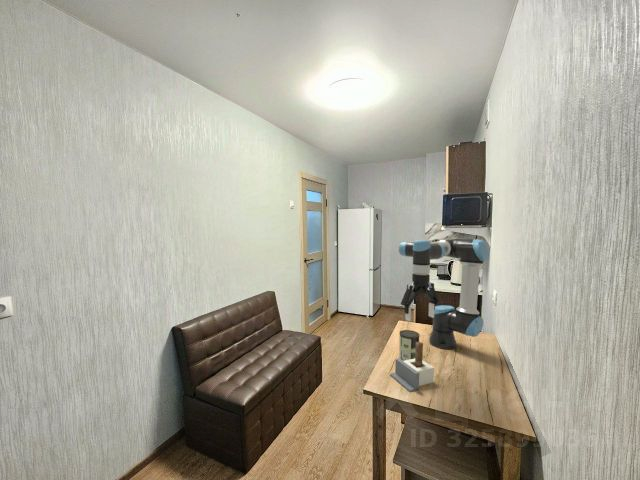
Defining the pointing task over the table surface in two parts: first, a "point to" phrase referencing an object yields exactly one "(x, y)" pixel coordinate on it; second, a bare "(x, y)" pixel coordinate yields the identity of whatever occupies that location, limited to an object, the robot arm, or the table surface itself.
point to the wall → (406, 376)
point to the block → (422, 371)
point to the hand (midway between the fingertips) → (419, 318)
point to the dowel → (418, 354)
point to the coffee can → (408, 344)
